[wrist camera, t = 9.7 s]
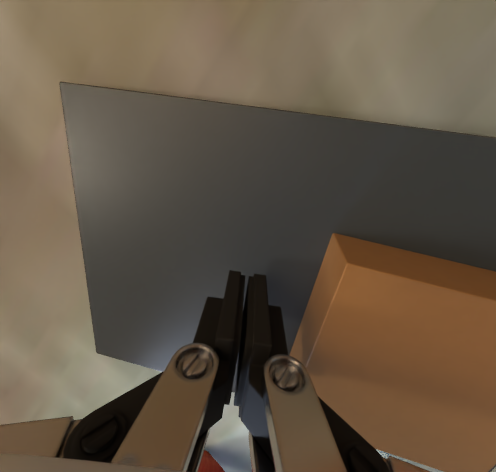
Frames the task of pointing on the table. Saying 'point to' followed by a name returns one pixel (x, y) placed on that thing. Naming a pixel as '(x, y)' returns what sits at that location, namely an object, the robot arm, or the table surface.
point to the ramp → (251, 205)
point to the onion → (209, 464)
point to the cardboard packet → (405, 352)
